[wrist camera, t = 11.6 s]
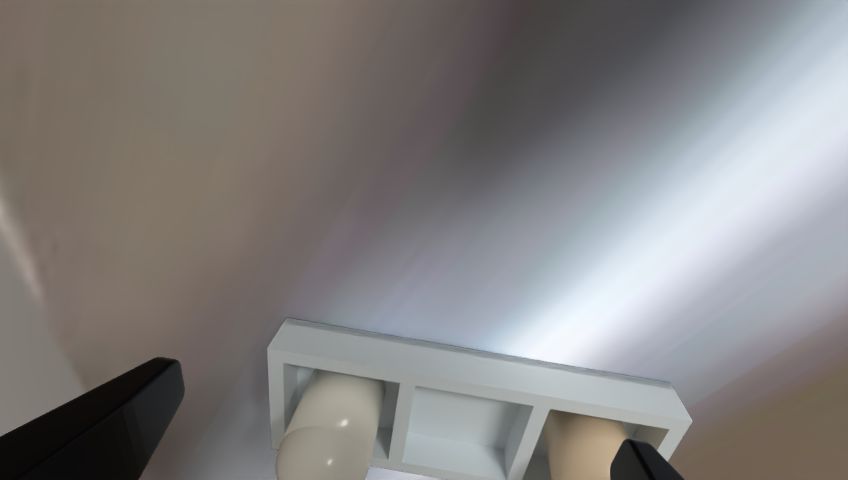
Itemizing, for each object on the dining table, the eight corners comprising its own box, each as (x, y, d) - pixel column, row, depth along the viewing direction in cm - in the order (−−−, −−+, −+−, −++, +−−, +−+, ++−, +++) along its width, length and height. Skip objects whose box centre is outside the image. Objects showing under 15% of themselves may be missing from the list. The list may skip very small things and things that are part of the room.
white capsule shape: (389, 364, 23) (362, 481, 17) (382, 418, 25) (355, 542, 19) (311, 351, 23) (256, 463, 17) (310, 406, 25) (260, 525, 19)
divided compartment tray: (670, 382, 22) (692, 421, 20) (620, 471, 26) (635, 512, 24) (286, 317, 23) (267, 348, 21) (287, 413, 26) (271, 448, 24)
